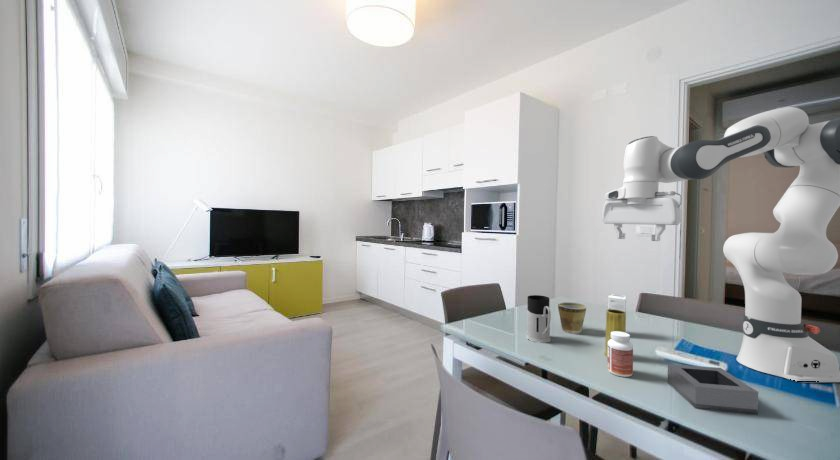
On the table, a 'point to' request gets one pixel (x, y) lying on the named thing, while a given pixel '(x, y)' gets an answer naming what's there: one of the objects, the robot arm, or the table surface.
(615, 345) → the pill bottle
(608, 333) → the vase
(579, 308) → the ceramic cup
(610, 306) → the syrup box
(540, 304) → the glass holder
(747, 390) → the metal socket
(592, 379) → the table surface
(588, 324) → the table surface
